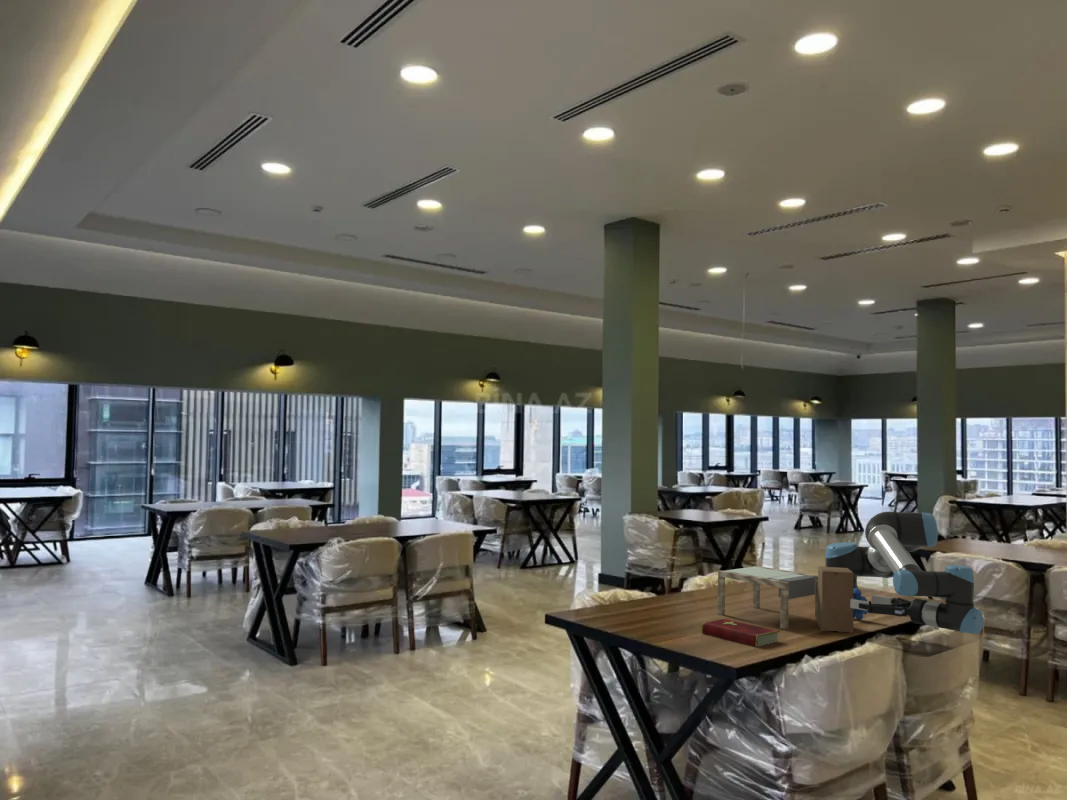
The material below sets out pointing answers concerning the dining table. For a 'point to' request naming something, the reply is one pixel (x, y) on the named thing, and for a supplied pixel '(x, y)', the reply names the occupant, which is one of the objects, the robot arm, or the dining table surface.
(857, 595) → the grapes
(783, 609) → the hinged flap stand
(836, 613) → the wooden block
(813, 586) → the trapdoor
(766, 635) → the hardcover book
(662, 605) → the dining table surface
